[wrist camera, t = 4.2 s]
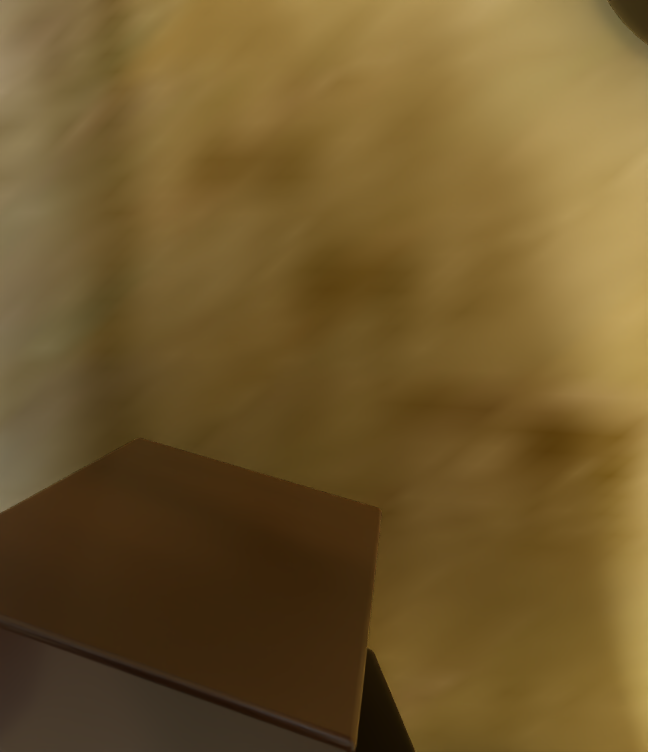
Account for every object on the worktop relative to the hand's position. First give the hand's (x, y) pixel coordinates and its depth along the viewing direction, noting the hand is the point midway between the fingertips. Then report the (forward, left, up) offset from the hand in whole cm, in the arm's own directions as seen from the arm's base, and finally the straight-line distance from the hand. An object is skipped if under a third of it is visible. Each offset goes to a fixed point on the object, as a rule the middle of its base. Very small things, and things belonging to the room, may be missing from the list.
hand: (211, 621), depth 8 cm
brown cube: (0, 0, -1) cm, 1 cm away
